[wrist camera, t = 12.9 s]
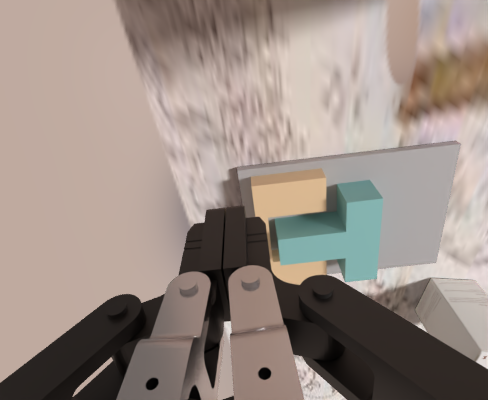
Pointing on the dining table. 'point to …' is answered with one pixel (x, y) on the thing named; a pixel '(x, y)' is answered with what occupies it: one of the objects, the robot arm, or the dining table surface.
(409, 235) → the slot board
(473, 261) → the dining table surface
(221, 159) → the dining table surface
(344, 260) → the tee block
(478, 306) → the supplement box
